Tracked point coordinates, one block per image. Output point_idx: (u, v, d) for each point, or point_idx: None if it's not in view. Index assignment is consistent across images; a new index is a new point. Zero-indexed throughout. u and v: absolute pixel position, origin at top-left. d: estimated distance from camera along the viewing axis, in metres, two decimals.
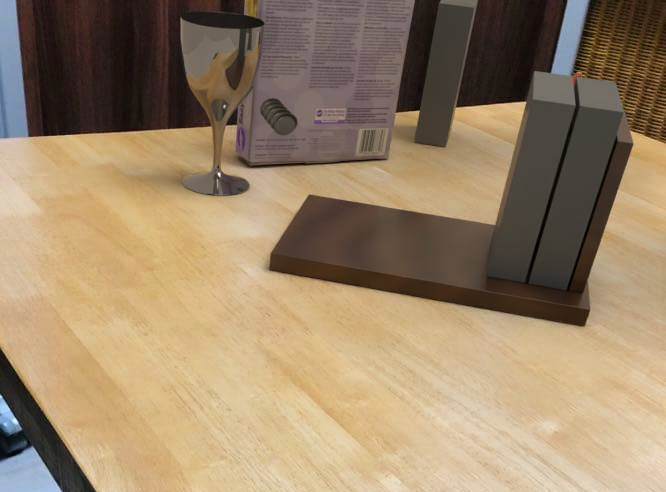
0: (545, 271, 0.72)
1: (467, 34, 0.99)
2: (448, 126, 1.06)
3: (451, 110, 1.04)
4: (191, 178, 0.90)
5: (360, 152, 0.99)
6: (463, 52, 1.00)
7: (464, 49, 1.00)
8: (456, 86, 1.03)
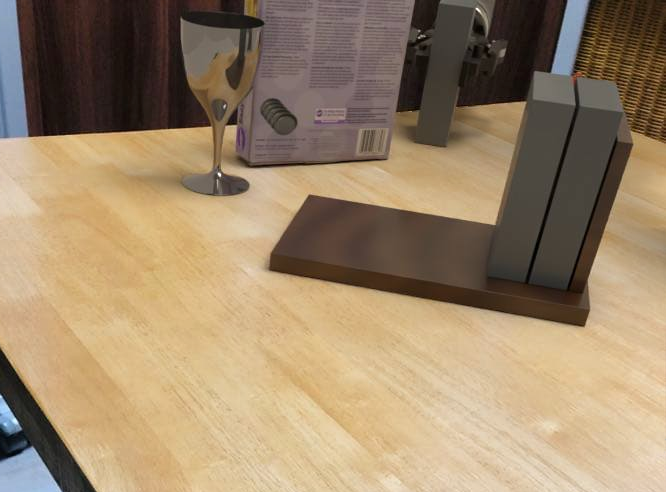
0: (545, 271, 0.72)
1: (467, 34, 0.99)
2: (448, 126, 1.06)
3: (451, 110, 1.04)
4: (191, 178, 0.90)
5: (360, 152, 0.99)
6: (463, 52, 1.00)
7: (464, 49, 1.00)
8: (456, 86, 1.03)
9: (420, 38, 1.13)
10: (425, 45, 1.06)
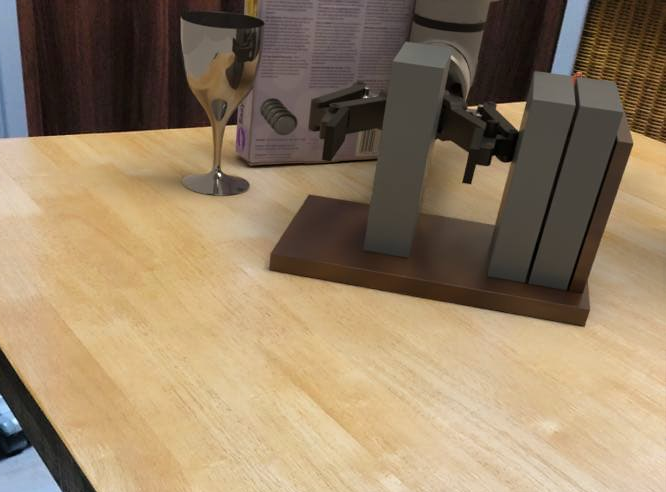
0: (545, 271, 0.72)
1: (435, 106, 0.68)
2: (410, 231, 0.74)
3: (414, 209, 0.73)
4: (191, 178, 0.90)
5: (360, 152, 0.99)
6: (429, 131, 0.69)
7: (431, 126, 0.69)
8: (421, 177, 0.71)
9: (366, 98, 0.82)
10: (335, 106, 0.76)
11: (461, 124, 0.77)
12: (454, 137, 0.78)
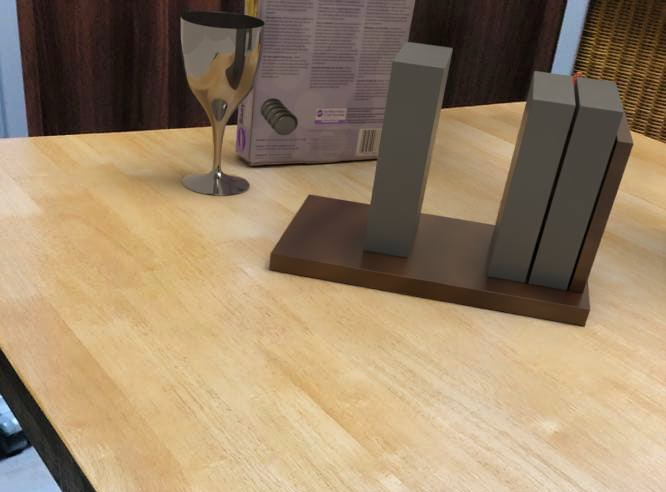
0: (545, 271, 0.72)
1: (435, 106, 0.68)
2: (410, 231, 0.74)
3: (414, 209, 0.73)
4: (191, 178, 0.90)
5: (360, 152, 0.99)
6: (429, 131, 0.69)
7: (431, 126, 0.69)
8: (421, 177, 0.71)
9: None
10: None
11: None
12: None
